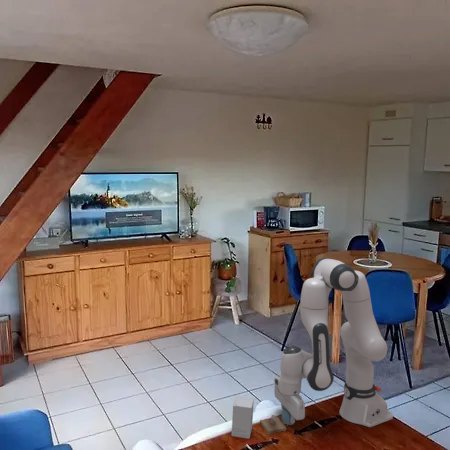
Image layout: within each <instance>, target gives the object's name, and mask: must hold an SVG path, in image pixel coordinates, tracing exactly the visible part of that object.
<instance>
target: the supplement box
mask: <svg viewBox="0 0 450 450" xmlns="http://www.w3.org/2000/svg"><path fill="white" fill-rule="evenodd" d="M254 402H255V399H253V398H248V397H239V396H236V397H235V399H234V403H233V405H232V419H231V421H232V422H231V437H237V438H243V439H250V437H251V433H252V431H253V418H254V404H255V403H254Z"/></svg>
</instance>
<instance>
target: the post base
mask: <svg viewBox="0 0 450 450" xmlns="http://www.w3.org/2000/svg"><path fill="white" fill-rule="evenodd" d="M259 423H260V425H261V426H262V427H263V429H264V431H265V432H266V433H267V435H271V434H277V433H282V432H281V431H283V432H286V430H287V429H288V428H287V425H284V424H283V423H282V422H281V419H280V418H279V416H278V417H277V416H276V415H275V414H273V415H271V416H270V418H266V419H260V420H259ZM287 431H288V430H287ZM276 432H277V433H276Z"/></svg>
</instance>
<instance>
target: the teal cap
mask: <svg viewBox="0 0 450 450" xmlns="http://www.w3.org/2000/svg"><path fill="white" fill-rule="evenodd" d="M289 418H291V414H290V413H289V411H288V410H287V409H286V408H283V411H282V410H281V419H280V421H282V422H283V423H284V424H287V425H286V426H288V425H290V424H291V423H290V421H289ZM292 424H293V425H294V424H295V423H292ZM290 426H291V425H290Z"/></svg>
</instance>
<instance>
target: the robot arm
mask: <svg viewBox="0 0 450 450" xmlns="http://www.w3.org/2000/svg"><path fill="white" fill-rule="evenodd" d="M332 289H334V290H337V291H340V292H341V295H342V296H341V297H342V304H343V310H344V316H345V318H346V319H347V321H345V322H344V323H343V324H342V325H341V327H340V329H339V331H340V332H339V334H340V337H341V340H342V343H343V348H344V353H345V354H344V355H345V360H346V369H345V370H346V373H345V380H344V383H343V399H342V402H341V406H340V409H339V411H338V412H339V415H340V416H341V418H342V419H344V420H346V421H348V422H350V423H353V424H355V425H356V424H357V425H361V426H365V427H368V428H372V427H375V426H377V425H380V424H383V423H385V422H388V421H391V420H393V419H394V415H393V413H392V412H391V411H390V409H388V404H387V402H386V400H385V399H384V398H383V397H382V396H381V395H379V394H378V393H380V392H381V390H382V389H381V387H380V386H378V385H375V384H374V376H375V375H374V374H375V367H374V365H373V362H380V361H382V360H383V359H384V358H385V357H386V356H387V354H388V349H389V348H388V344H387V342H386V340H385V339H384V337H383V336H382V333H381V331H380V329H379V326H378V323H377V321H376V318H375V315H374V312H373V305H372V300H371V299H372V297H371V292H370V287H369V283H368V281H367V278H366V275H365V274H364V273H363V272H362V271H359V270H356V269H355V270H354V268H353V267H352V266H350V265H349V264H346V263H345V262H343V261H341V260H337V259H333V258H330V257H321V258H319V259H317V260H316V262H314V265H313V267H312V271H311V273H310V278H308V279H306V280H305V281H304V282H303V284H302V288H301V293H300V302H299V303H300V304H299V305H300V306H299V313H300V319H301V322H302V324H303V326H304V328H305V329H306V331H307V333H308V335H309V337H310V340H311V345H312V347H311V348H312V352H307V351H305V350H304V349H302V348H301V347H299V346H295V345H294V346H287V347H285V348H284V350H283V351H282V354H281V357H280V359H281V360H280V367H279V368H280V375H279V376H277V377H276V376H275V377H274V380H273V382H274V390H273V393H274V394H273V395H274V397H275V398H276V400H278V402H279V403H280V407H281V412H282V411H283V408H286V409H287V410H288V411H289V413H290V414H291V418H289V421H290V423H291V424H292V423H294V424H295V423H296V421H302V420H304V419H305V417H306V409H305V408H306V405H305V401H304V399H303V397H302V396H301V395H300V394H301V391H302V380H303V379H306V381H307V383H308V385H309V387H310V388H311V389H312V390H314V391H315V392H316V391H317V392H324V391H326V390H328V389H329V388H330V387H331V386H332V385H333V383H334V379H335V375H334V372H333V370H332V368H331V363H330V362H331V361H330V339H329V337H330V336H329V296H330V293H331V291H332Z"/></svg>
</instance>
